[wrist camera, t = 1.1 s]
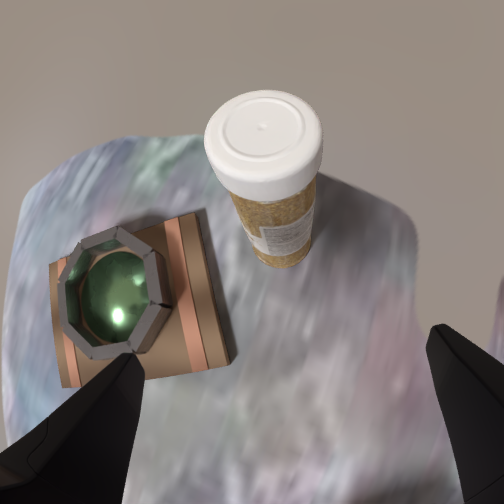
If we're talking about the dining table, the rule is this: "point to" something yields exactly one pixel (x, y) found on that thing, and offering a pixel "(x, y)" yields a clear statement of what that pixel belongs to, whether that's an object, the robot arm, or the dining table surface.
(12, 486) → the robot arm
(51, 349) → the dining table surface
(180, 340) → the wooden base board
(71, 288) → the ring
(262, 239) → the sprinkles bottle
